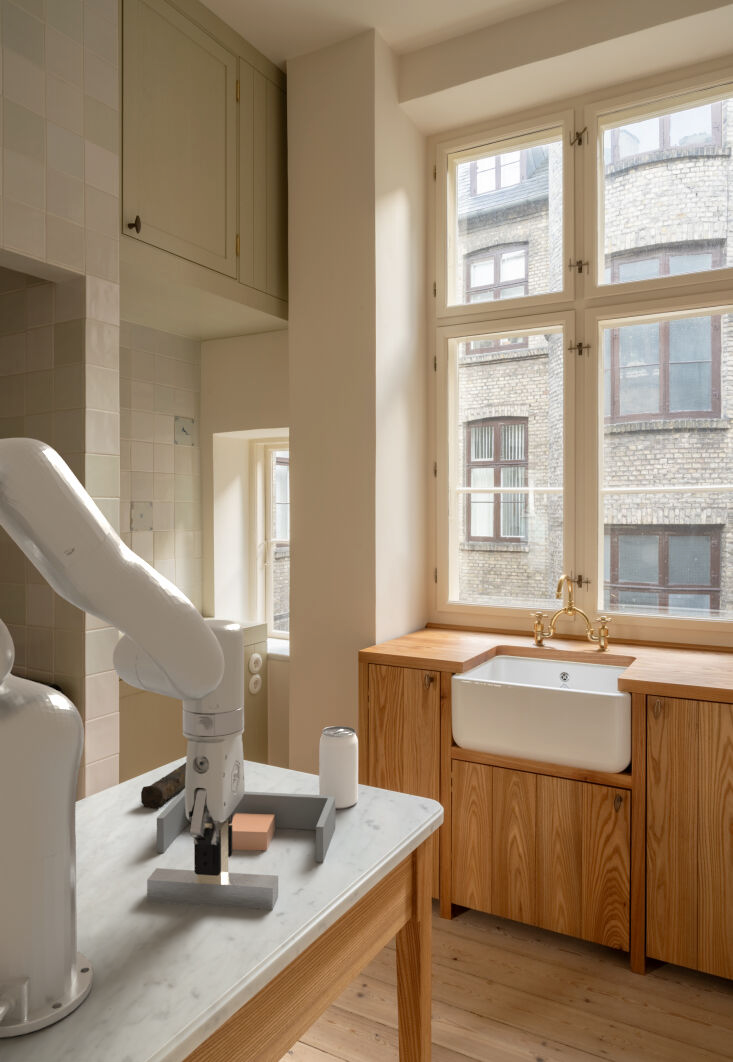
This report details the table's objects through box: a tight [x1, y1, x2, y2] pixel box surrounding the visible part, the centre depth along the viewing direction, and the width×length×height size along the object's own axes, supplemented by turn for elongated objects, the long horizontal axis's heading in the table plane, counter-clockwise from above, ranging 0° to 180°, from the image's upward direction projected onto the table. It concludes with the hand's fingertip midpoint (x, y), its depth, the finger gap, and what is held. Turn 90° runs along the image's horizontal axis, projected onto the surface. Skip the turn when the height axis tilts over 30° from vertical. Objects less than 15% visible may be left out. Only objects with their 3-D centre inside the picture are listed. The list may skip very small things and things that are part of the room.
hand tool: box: [140, 757, 187, 810], centre depth 129 cm, size 19×4×5 cm, turn 161°
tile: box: [229, 813, 276, 852], centre depth 109 cm, size 6×6×3 cm
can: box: [318, 725, 359, 810], centre depth 123 cm, size 6×6×12 cm
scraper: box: [146, 819, 279, 911], centre depth 93 cm, size 3×16×10 cm, turn 83°
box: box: [156, 787, 336, 863], centre depth 109 cm, size 11×24×5 cm, turn 84°
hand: (213, 863), depth 93 cm, fingers open, 4 cm apart
